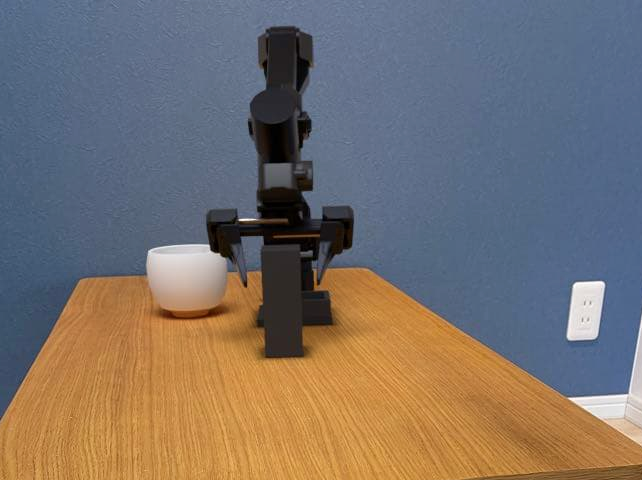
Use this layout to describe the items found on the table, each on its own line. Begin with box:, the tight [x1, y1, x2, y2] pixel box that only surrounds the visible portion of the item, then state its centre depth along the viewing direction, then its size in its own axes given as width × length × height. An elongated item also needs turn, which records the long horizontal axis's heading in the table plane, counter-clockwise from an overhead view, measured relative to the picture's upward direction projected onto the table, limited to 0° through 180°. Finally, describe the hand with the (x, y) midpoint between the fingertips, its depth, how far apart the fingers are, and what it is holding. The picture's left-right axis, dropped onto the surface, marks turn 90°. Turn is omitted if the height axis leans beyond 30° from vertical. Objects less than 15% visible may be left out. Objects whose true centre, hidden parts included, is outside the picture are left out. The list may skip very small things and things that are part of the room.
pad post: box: [259, 244, 304, 359], centre depth 108 cm, size 5×5×13 cm
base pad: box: [256, 289, 333, 327], centre depth 129 cm, size 11×11×4 cm
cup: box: [145, 243, 229, 319], centre depth 132 cm, size 12×12×10 cm
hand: (282, 284), depth 107 cm, fingers open, 9 cm apart
